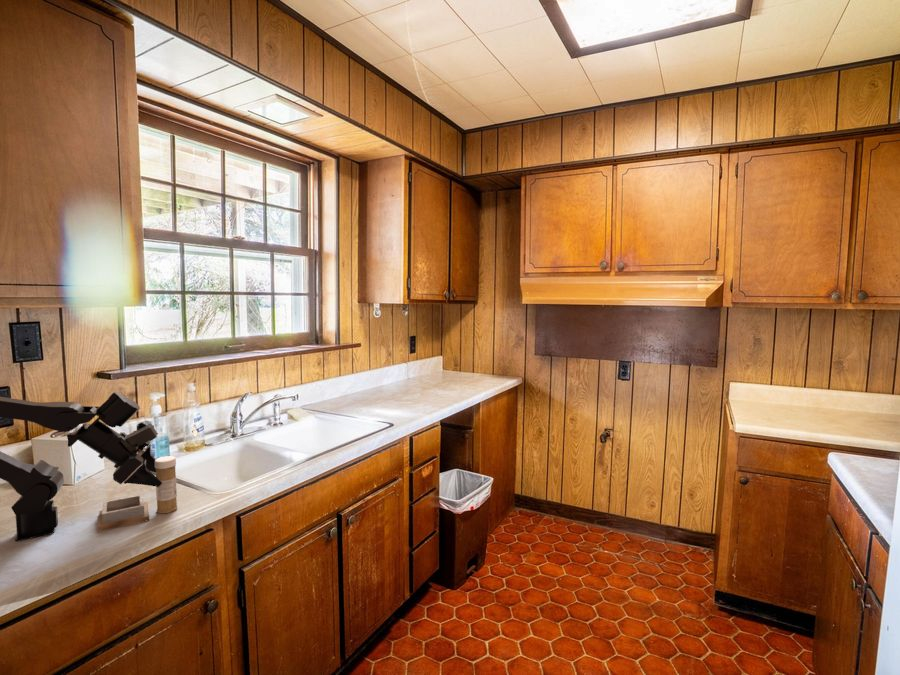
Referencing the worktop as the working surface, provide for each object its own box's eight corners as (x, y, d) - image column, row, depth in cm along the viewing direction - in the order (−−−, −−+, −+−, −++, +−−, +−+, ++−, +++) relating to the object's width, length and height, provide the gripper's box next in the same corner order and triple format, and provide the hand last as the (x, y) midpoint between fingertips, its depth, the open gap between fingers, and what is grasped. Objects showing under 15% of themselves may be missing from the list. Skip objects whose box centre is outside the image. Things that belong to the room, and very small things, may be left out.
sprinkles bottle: (162, 506, 122) (160, 455, 121) (180, 506, 123) (179, 455, 122) (153, 514, 118) (150, 461, 117) (172, 513, 118) (170, 461, 117)
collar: (102, 524, 110) (102, 514, 110) (103, 511, 117) (103, 501, 117) (144, 515, 115) (144, 505, 115) (143, 503, 121) (143, 494, 121)
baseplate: (97, 531, 109) (97, 527, 109) (99, 514, 117) (99, 510, 117) (149, 520, 115) (149, 516, 114) (147, 505, 123) (147, 501, 123)
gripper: (127, 424, 107) (185, 464, 113) (138, 407, 123) (188, 442, 129) (86, 464, 104) (148, 502, 110) (102, 441, 121) (155, 475, 127)
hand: (162, 478), depth 119 cm, fingers open, 9 cm apart
